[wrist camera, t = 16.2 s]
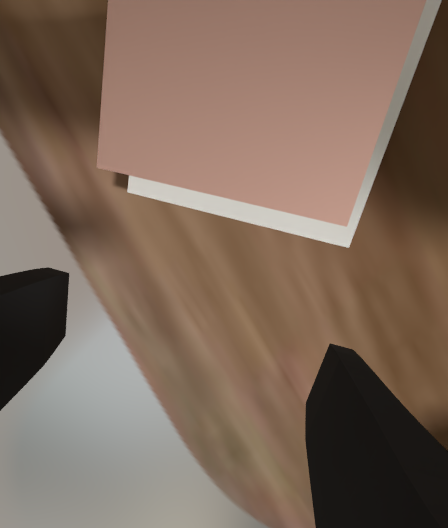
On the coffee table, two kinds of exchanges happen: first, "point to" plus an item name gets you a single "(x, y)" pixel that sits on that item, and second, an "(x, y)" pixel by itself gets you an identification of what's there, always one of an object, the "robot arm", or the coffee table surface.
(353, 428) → the robot arm
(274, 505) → the coffee table surface
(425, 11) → the base plate
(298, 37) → the brick top
